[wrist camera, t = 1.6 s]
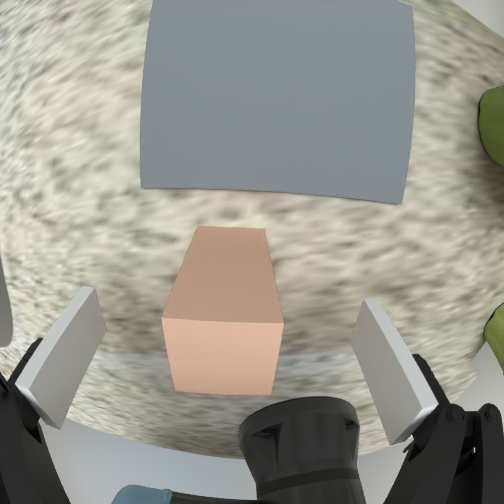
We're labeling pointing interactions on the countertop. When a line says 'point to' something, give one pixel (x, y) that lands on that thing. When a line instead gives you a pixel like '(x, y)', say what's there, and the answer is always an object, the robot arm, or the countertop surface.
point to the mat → (279, 96)
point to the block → (224, 315)
